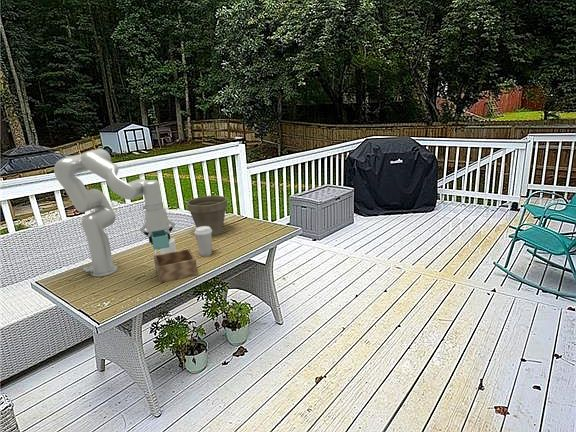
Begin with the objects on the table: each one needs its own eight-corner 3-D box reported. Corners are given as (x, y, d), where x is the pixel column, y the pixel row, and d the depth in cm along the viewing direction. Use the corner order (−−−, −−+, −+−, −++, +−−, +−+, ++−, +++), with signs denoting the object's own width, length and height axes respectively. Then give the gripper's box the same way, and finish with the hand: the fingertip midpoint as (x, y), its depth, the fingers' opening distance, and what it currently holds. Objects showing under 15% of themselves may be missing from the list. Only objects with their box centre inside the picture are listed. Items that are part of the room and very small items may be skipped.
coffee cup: (197, 258, 215) (194, 232, 210) (196, 251, 224) (193, 226, 219) (215, 255, 217) (212, 230, 212) (213, 249, 226) (211, 224, 221)
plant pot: (189, 229, 262) (185, 197, 255) (226, 224, 269) (223, 193, 262) (192, 241, 239) (188, 207, 232) (232, 236, 246) (229, 202, 239)
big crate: (160, 282, 188) (157, 267, 186) (155, 270, 202) (153, 255, 200) (197, 274, 196) (195, 259, 193) (190, 262, 209) (189, 248, 207)
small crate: (154, 250, 184) (152, 238, 182) (152, 242, 193) (150, 231, 192) (169, 247, 186) (167, 235, 184) (166, 239, 196) (164, 228, 194)
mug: (159, 264, 209) (156, 246, 206) (152, 260, 214) (149, 242, 211) (179, 257, 217) (177, 240, 214) (172, 253, 222) (169, 236, 219)
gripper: (135, 211, 178) (141, 248, 183) (174, 205, 184) (179, 241, 189) (134, 207, 184) (140, 243, 190) (172, 202, 191) (177, 236, 196)
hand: (160, 242), depth 189 cm, fingers closed on small crate, 7 cm apart
